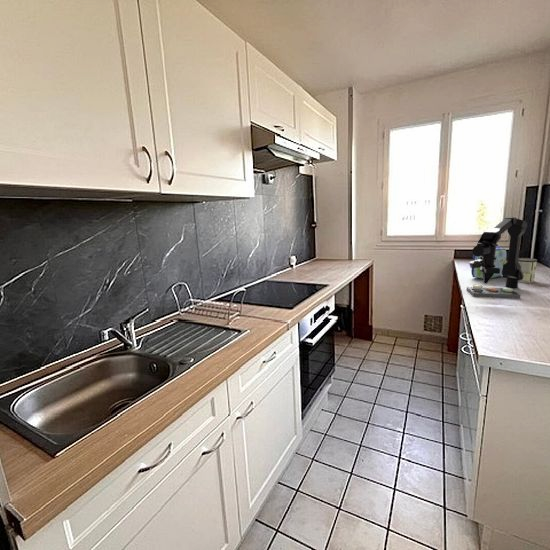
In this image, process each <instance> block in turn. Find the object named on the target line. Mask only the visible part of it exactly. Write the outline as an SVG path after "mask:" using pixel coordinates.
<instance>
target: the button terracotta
mask: <svg viewBox="0 0 550 550" xmlns="http://www.w3.org/2000/svg"><path fill="white" fill-rule="evenodd" d="M486 288H487V290H488V292H497V288H498V287H493V286H489V287H486Z"/></svg>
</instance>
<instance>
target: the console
mask: <svg viewBox="0 0 550 550" xmlns="http://www.w3.org/2000/svg"><path fill="white" fill-rule="evenodd" d="M487 288H488V287H482V289H481V291H473V290H474V288H473V286H466V292H468V293H469V294H470V295H471V297H473V298H492V299H494V298H496V299H515V300H516V299H518V300H520V299H521V297H522V296H521V294H520V293H518V292H517V291H515V290H513V292H503V291H502V289H503V288H504V287H496V288H497V292H488V290H487Z"/></svg>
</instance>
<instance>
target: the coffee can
mask: <svg viewBox="0 0 550 550" xmlns="http://www.w3.org/2000/svg"><path fill="white" fill-rule="evenodd" d="M518 262H519V264H520V265H521V271H522V273H523V275H524V277H523V279H522V280H519V281H518V283H534V282H535V277H536V271H537V269H536V268H537V263H538V259H536V258H530V257H519V258H518Z"/></svg>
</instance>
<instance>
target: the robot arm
mask: <svg viewBox="0 0 550 550" xmlns="http://www.w3.org/2000/svg"><path fill="white" fill-rule="evenodd" d="M527 228H528V223H527V222H526V220H523V219H520V218H517V217H514V216H507V217H504V218H503V219H502V220H501V221H500V222H499V223H498V224H496V226H494V227H493V228H491V229H490V228H489V229H487V230H485V231H483V233H482V234H481V236H480V237H479V239H478V242H477V244H476V245H475V246H473V248H472V251H471V252H472V254H474V255H475V256H477V257H478V256H481V257H480V259H478V260H474V261H472V260H471V261H468V265H469V267H470V268H471V270H472V269H474V268H478V267H479V268H480V270H479V271H480V272H481V273H482V276H483V279H482V280H483V283H484V284H485V285H486V284H487V285H488V283H489V281H490V280H491V279H492V278H491V277H492V276H493V274H494V273H495V274H500V269H499V268H497V267H495V265H494V261H495V260H496V257H495V252H496V246H499V244H498V242H499V241H500V240H501V238H502V234H504V233H505V232H507V233H508V235H509V236H510V237H509V245H508V254H507V255H508V256H507V260H506V263H505V264H504V265H503V269H502V276H501V277H502V278H503V279H505V281H506V282H505V285H504V286H503V288H511V289H513V290H514V289H515V290H517V289H518V287H519V280H522V279H523V277H524V275H523V273H522V271H521V265H520V264H519V262H518V258H520V249H521V248H520V247H521V240H522V236H523V235H524V233H526V230H527ZM490 278H491V279H490Z"/></svg>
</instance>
